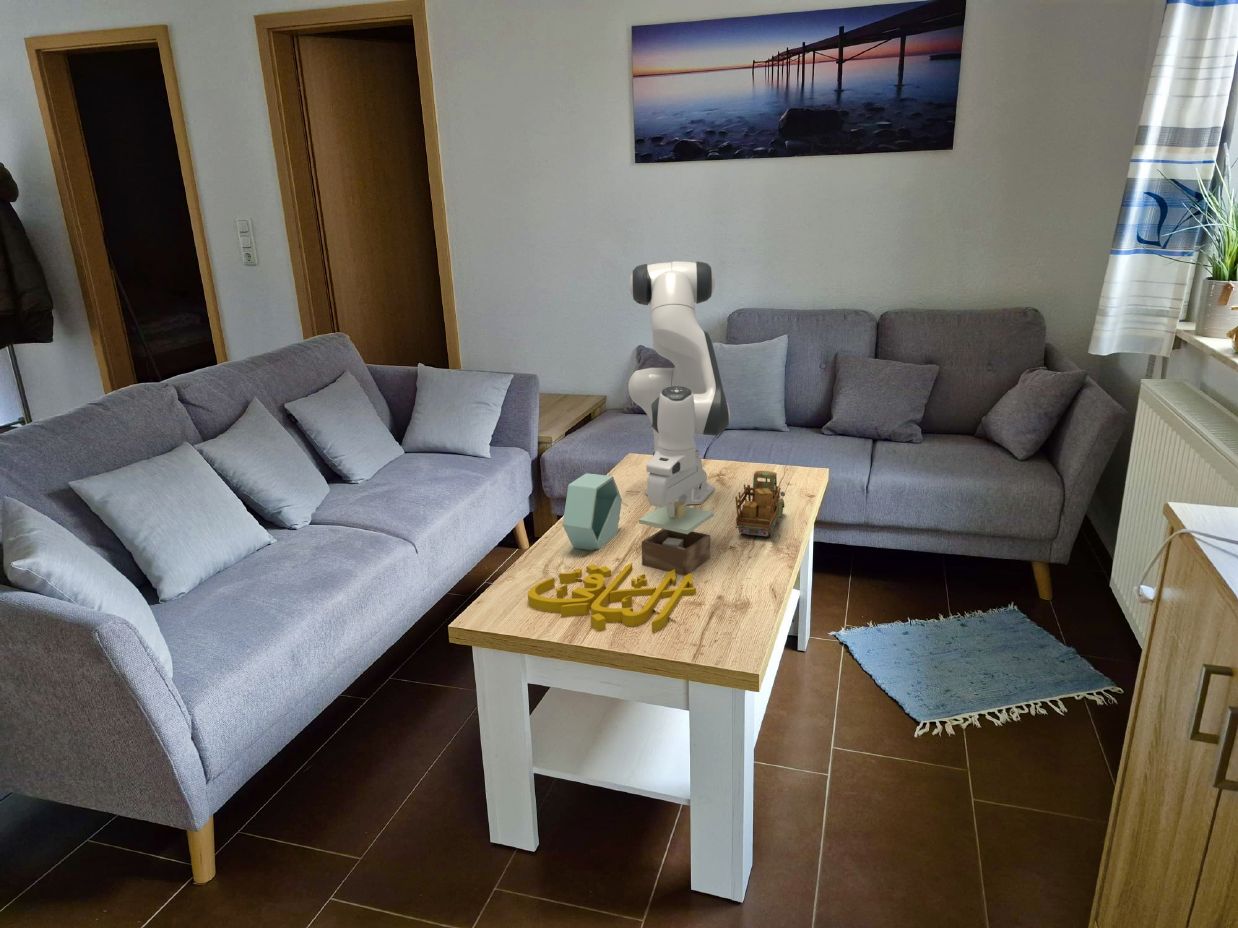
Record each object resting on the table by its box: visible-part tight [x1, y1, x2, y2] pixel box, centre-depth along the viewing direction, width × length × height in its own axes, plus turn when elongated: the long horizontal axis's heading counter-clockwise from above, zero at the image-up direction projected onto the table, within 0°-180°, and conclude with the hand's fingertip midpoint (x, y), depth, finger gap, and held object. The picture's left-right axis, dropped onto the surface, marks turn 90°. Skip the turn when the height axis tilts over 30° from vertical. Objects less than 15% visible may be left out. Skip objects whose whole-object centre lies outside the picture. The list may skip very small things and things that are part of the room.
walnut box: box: [641, 528, 711, 577], centre depth 204 cm, size 12×12×7 cm
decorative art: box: [527, 562, 697, 633], centre depth 188 cm, size 34×3×30 cm
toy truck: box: [735, 470, 786, 540], centre depth 226 cm, size 11×25×15 cm, turn 160°
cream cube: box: [662, 537, 683, 548], centre depth 207 cm, size 4×4×4 cm
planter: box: [562, 472, 623, 551], centre depth 217 cm, size 17×8×21 cm
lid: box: [638, 501, 715, 534], centre depth 201 cm, size 13×13×4 cm
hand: (676, 512), depth 201 cm, fingers closed on lid, 3 cm apart
